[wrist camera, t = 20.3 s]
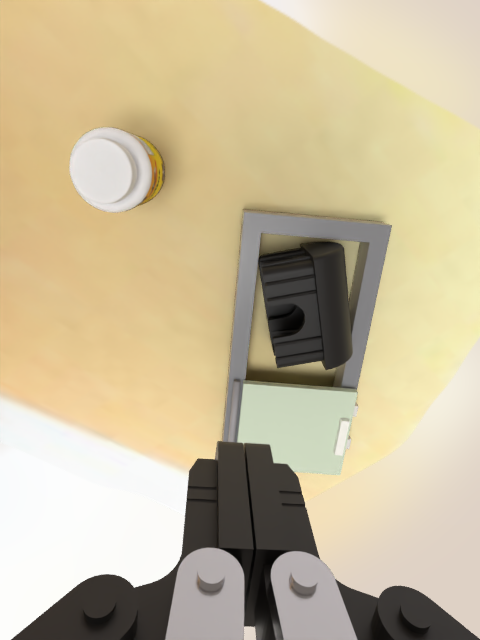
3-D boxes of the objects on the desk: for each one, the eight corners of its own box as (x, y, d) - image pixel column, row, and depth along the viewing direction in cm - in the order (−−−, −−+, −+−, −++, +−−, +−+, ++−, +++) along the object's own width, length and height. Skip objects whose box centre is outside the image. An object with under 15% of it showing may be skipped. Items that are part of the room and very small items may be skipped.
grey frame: (221, 446, 46) (221, 462, 44) (243, 209, 37) (244, 212, 35) (339, 453, 47) (345, 468, 44) (388, 222, 38) (398, 226, 36)
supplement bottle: (138, 217, 37) (107, 235, 28) (88, 170, 36) (37, 172, 26) (180, 169, 36) (162, 171, 26) (129, 120, 34) (92, 102, 25)
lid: (225, 462, 43) (225, 470, 42) (233, 379, 40) (233, 386, 39) (338, 470, 44) (341, 479, 43) (355, 388, 41) (359, 395, 39)
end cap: (341, 335, 42) (361, 365, 35) (271, 347, 42) (279, 379, 36) (332, 236, 38) (352, 250, 32) (256, 250, 39) (262, 266, 32)
